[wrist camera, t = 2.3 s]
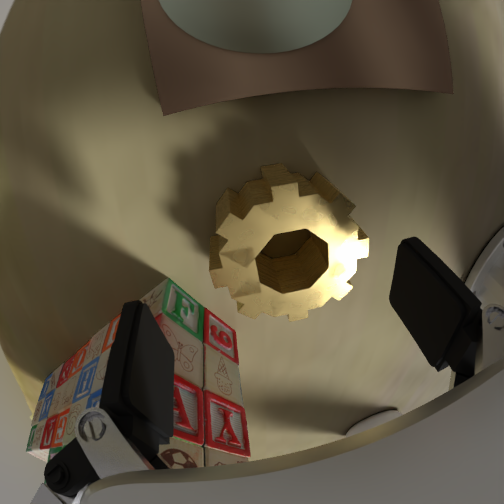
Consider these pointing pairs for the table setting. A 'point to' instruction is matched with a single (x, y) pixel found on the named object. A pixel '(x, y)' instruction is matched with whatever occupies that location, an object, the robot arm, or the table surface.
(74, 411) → the stack of blocks
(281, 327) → the table surface
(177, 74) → the gear board
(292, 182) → the brass gear
